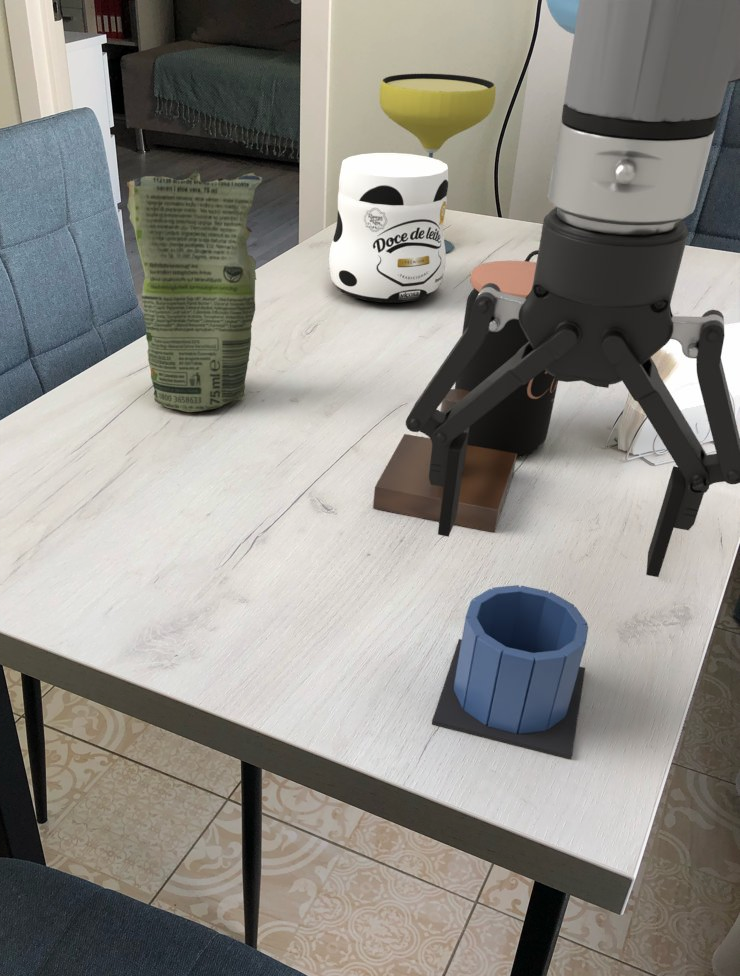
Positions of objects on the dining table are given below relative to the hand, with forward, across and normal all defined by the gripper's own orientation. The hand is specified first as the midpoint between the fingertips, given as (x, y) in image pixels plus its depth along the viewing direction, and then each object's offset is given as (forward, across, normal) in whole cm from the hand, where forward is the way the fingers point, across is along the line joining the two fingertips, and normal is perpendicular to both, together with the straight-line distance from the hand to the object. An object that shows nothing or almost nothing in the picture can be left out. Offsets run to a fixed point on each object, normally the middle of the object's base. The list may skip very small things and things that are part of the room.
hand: (547, 545), depth 63 cm
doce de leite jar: (+14, -32, +84) cm, 91 cm away
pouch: (+14, -43, +40) cm, 60 cm away
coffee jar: (+14, -8, +42) cm, 45 cm away
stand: (+14, -11, +28) cm, 33 cm away
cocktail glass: (+15, -32, +109) cm, 114 cm away
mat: (+14, 0, 0) cm, 14 cm away
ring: (+13, 0, 0) cm, 13 cm away
